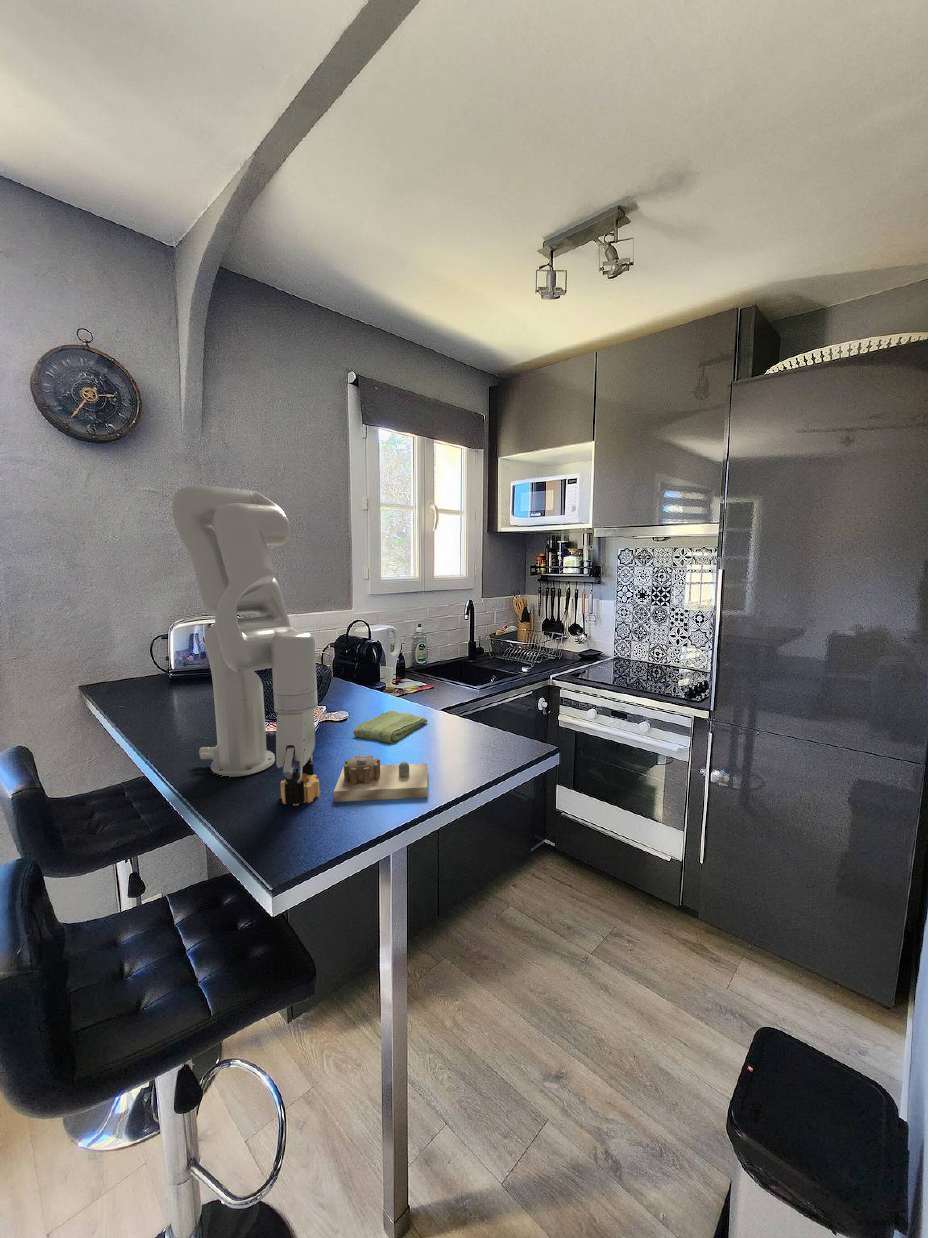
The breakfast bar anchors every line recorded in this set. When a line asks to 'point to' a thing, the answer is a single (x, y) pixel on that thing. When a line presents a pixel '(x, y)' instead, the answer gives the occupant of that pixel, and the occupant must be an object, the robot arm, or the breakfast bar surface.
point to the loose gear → (305, 788)
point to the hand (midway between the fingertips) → (300, 792)
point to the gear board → (380, 780)
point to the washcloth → (389, 726)
